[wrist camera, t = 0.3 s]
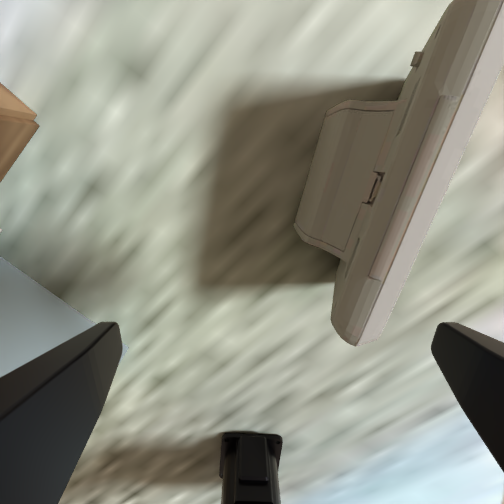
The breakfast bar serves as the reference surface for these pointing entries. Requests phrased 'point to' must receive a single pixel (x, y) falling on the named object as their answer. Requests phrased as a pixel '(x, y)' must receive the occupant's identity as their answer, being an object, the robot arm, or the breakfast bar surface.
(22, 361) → the gray rectangular box
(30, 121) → the cubby cabinet
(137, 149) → the breakfast bar surface
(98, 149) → the breakfast bar surface
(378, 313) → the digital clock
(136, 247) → the breakfast bar surface
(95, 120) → the breakfast bar surface
